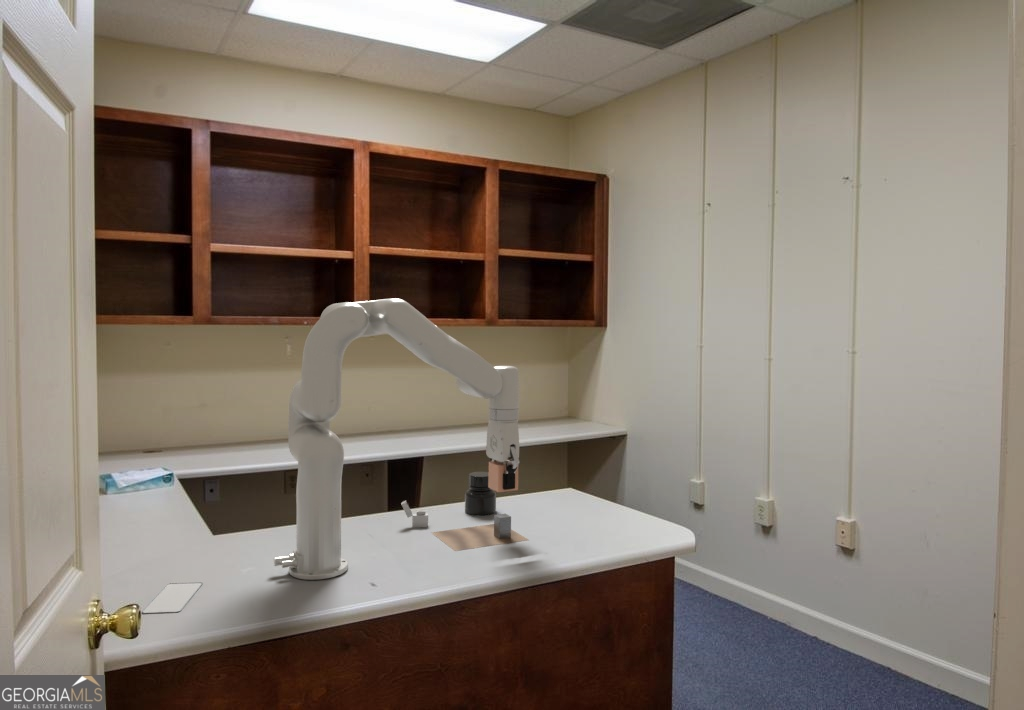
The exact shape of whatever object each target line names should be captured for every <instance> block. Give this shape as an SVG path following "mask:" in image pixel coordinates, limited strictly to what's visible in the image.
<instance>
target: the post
mask: <svg viewBox="0 0 1024 710" xmlns="http://www.w3.org/2000/svg"><path fill="white" fill-rule="evenodd" d="M493 524H494V536H495V537H496V538H498V539H506V538H511V530H512V516H511V515H508V514H507V513H500V514H493Z"/></svg>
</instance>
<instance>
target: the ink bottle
mask: <svg viewBox="0 0 1024 710" xmlns="http://www.w3.org/2000/svg"><path fill="white" fill-rule="evenodd" d="M488 477H489V471H473V472H470V473H468V487H469V488H468V490H466V491H465V493H464V513H465V514H467V515H469V516H476V517H482V516H483V517H484V516H491V515H495V513H496V511H497V492H496V491H495V490H493V489H491V488H489V487H488Z"/></svg>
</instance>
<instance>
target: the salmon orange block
mask: <svg viewBox="0 0 1024 710" xmlns="http://www.w3.org/2000/svg"><path fill="white" fill-rule="evenodd" d="M507 461H510V459H507ZM510 464H511V463H509V464H507V466H509V465H510ZM488 472H489V477H488V487H489V488H491V489H493V491H495V492H496V493H503V492H512V491H513V492H514V491H518V490H519V465H518V466H517V469H516V473H515V488H514V489H508V490H504V489H503V474H504V465H503V462H502V463H501V462H498V461H491V460H490V461H488Z"/></svg>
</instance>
